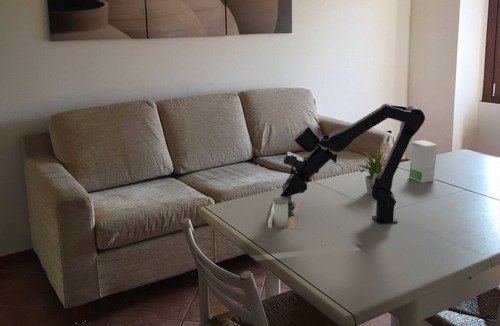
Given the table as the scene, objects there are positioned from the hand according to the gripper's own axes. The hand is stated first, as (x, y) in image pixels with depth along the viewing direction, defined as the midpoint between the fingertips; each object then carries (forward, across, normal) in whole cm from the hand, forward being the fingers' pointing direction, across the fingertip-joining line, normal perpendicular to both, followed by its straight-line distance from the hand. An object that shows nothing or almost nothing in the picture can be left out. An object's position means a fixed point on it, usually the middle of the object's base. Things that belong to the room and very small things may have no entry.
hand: (281, 192), depth 183 cm
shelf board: (+6, 0, +7) cm, 9 cm away
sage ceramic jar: (+5, +10, +6) cm, 12 cm away
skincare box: (-32, -46, +45) cm, 72 cm away
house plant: (-17, -29, +30) cm, 45 cm away
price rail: (+8, 0, +4) cm, 9 cm away
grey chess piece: (+4, 0, +7) cm, 8 cm away
